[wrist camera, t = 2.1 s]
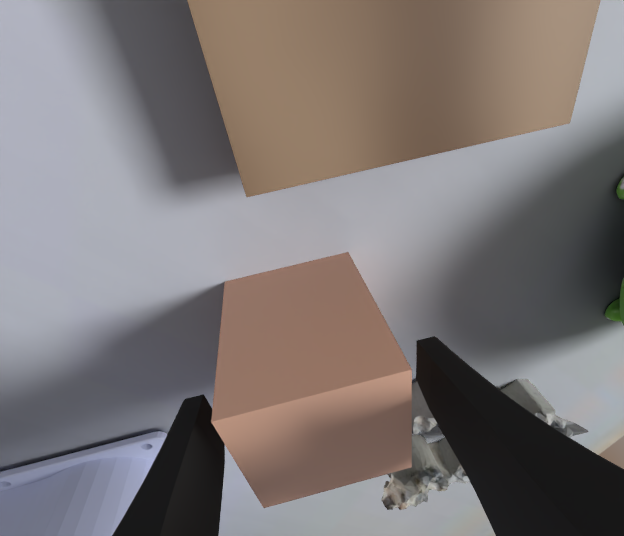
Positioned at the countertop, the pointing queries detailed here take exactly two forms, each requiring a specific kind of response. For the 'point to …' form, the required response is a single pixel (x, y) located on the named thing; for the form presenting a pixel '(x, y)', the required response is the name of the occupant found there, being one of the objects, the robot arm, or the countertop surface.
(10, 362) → the countertop surface
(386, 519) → the countertop surface
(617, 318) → the turtle holder
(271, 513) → the countertop surface
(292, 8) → the walnut block
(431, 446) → the egg carton
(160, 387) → the countertop surface
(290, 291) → the terracotta block
